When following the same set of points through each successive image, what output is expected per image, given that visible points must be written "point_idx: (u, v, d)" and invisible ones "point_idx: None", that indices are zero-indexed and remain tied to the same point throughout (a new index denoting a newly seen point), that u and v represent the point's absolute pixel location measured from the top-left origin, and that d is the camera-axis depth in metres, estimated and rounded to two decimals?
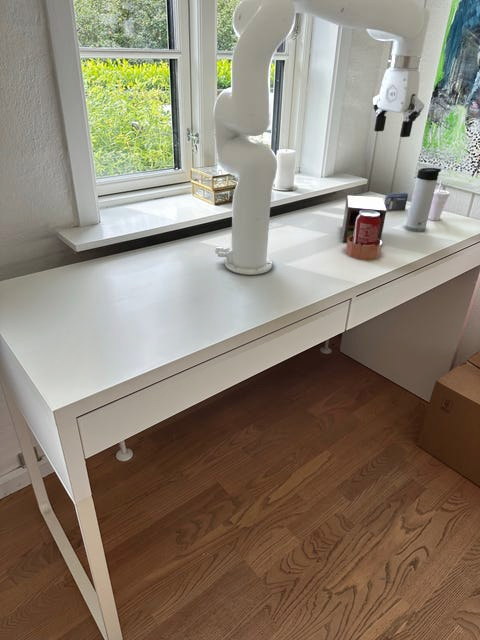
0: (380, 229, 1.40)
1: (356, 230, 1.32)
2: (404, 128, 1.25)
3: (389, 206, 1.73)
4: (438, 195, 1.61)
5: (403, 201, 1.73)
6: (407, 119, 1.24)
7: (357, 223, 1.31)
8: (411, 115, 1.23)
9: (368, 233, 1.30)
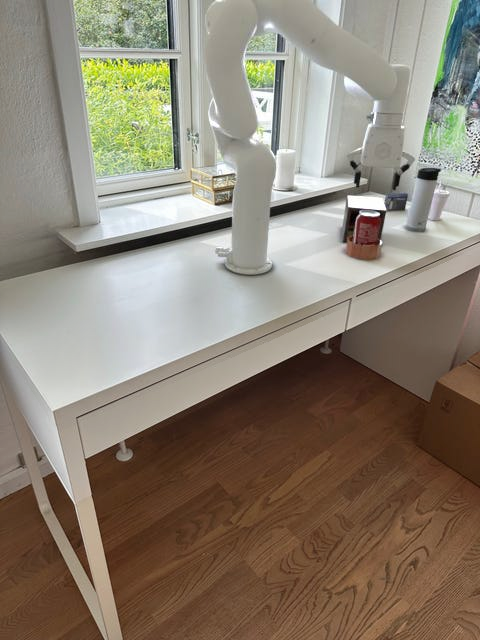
0: (380, 229, 1.40)
1: (356, 230, 1.32)
2: (397, 181, 1.25)
3: (389, 206, 1.73)
4: (438, 195, 1.61)
5: (403, 201, 1.73)
6: (400, 173, 1.23)
7: (357, 223, 1.31)
8: (403, 168, 1.23)
9: (368, 233, 1.30)
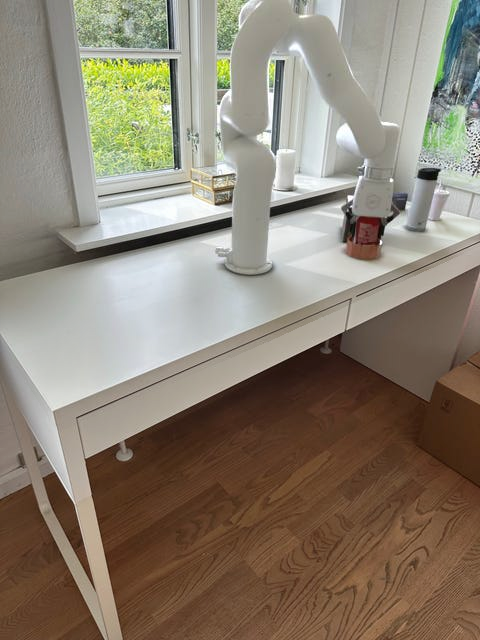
0: None
1: (356, 230, 1.32)
2: (381, 231, 1.32)
3: None
4: (438, 195, 1.61)
5: (403, 201, 1.73)
6: (385, 224, 1.30)
7: (357, 223, 1.31)
8: (388, 221, 1.30)
9: (368, 233, 1.30)
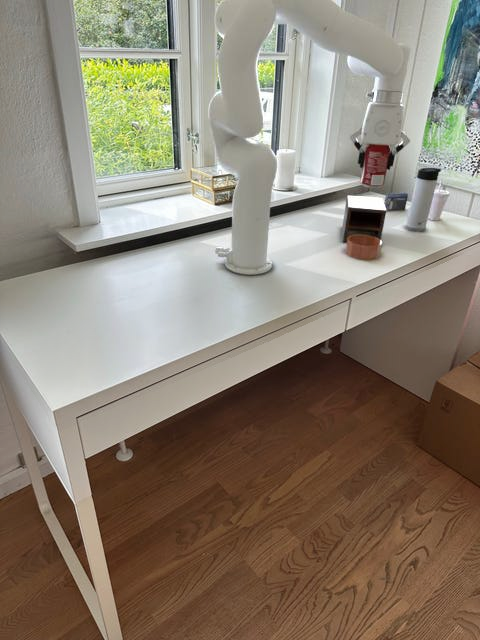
0: (380, 229, 1.40)
1: (365, 160, 1.30)
2: (391, 161, 1.29)
3: (389, 206, 1.73)
4: (438, 195, 1.61)
5: (403, 201, 1.73)
6: (395, 153, 1.28)
7: (366, 152, 1.29)
8: (398, 149, 1.28)
9: (378, 163, 1.28)
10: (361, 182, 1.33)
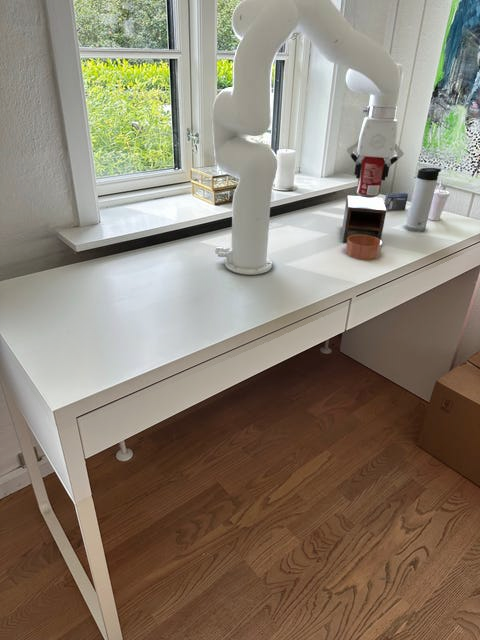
0: (380, 229, 1.40)
1: (361, 171, 1.37)
2: (386, 172, 1.37)
3: (389, 206, 1.73)
4: (438, 195, 1.61)
5: (403, 201, 1.73)
6: (389, 164, 1.36)
7: (362, 164, 1.36)
8: (392, 161, 1.35)
9: (373, 174, 1.36)
10: (357, 192, 1.41)
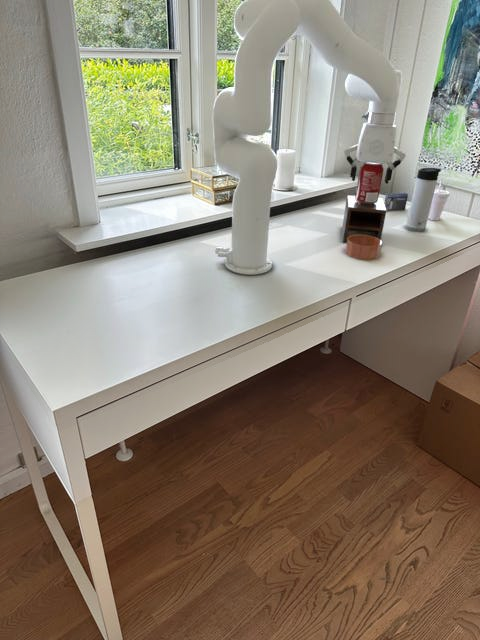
0: (380, 229, 1.40)
1: (360, 179, 1.38)
2: (389, 175, 1.37)
3: (389, 206, 1.73)
4: (438, 195, 1.61)
5: (403, 201, 1.73)
6: (392, 168, 1.36)
7: (361, 171, 1.37)
8: (395, 164, 1.36)
9: (372, 181, 1.37)
10: (356, 199, 1.42)
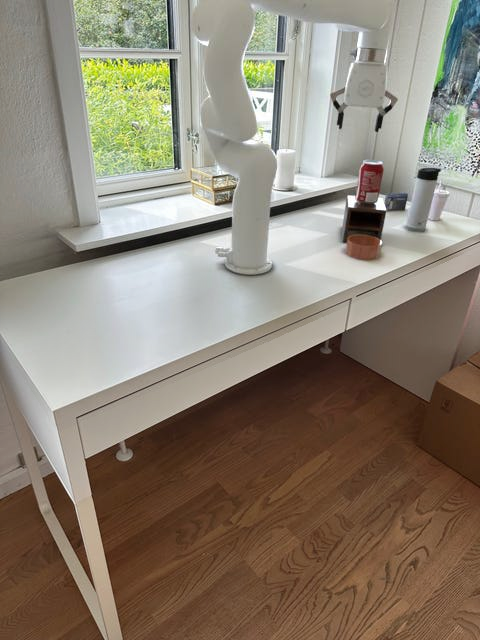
0: (380, 229, 1.40)
1: (360, 179, 1.38)
2: (379, 123, 1.24)
3: (389, 206, 1.73)
4: (438, 195, 1.61)
5: (403, 201, 1.73)
6: (383, 113, 1.23)
7: (361, 171, 1.37)
8: (386, 109, 1.23)
9: (372, 181, 1.37)
10: (356, 199, 1.42)
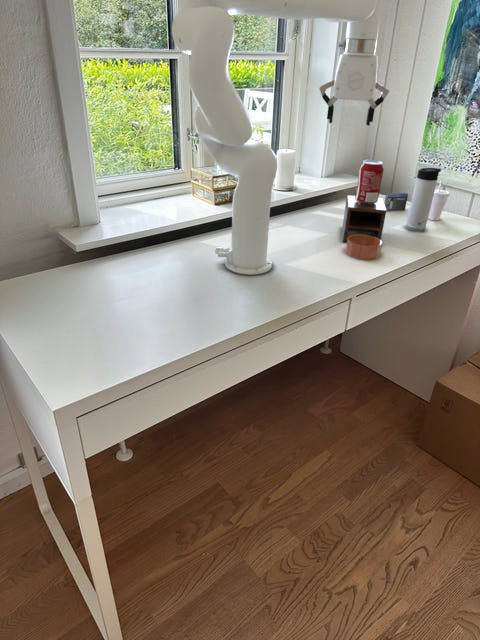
0: (380, 229, 1.40)
1: (360, 179, 1.38)
2: (370, 116, 1.20)
3: (389, 206, 1.73)
4: (438, 195, 1.61)
5: (403, 201, 1.73)
6: (374, 106, 1.19)
7: (361, 171, 1.37)
8: (377, 102, 1.19)
9: (372, 181, 1.37)
10: (356, 199, 1.42)
